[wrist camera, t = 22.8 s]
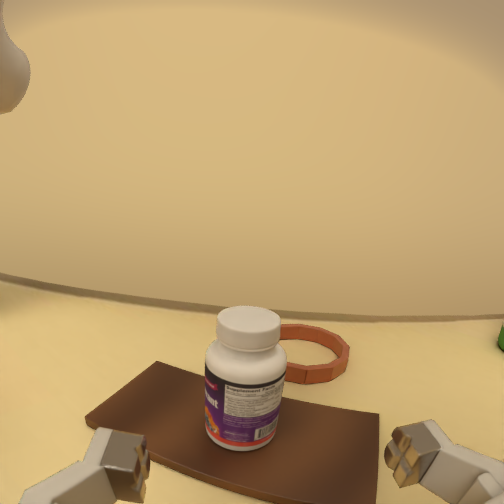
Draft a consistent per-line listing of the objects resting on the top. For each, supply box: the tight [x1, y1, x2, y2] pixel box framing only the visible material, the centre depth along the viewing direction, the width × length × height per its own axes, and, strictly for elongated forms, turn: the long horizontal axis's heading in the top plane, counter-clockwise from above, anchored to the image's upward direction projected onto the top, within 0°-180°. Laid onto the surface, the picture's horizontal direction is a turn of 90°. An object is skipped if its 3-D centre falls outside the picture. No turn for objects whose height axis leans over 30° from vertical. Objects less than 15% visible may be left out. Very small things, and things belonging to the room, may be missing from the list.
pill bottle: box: [205, 306, 287, 451], centre depth 21 cm, size 5×5×10 cm
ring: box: [280, 324, 350, 384], centre depth 35 cm, size 11×11×2 cm
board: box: [85, 361, 379, 504], centre depth 22 cm, size 22×11×1 cm, turn 71°
